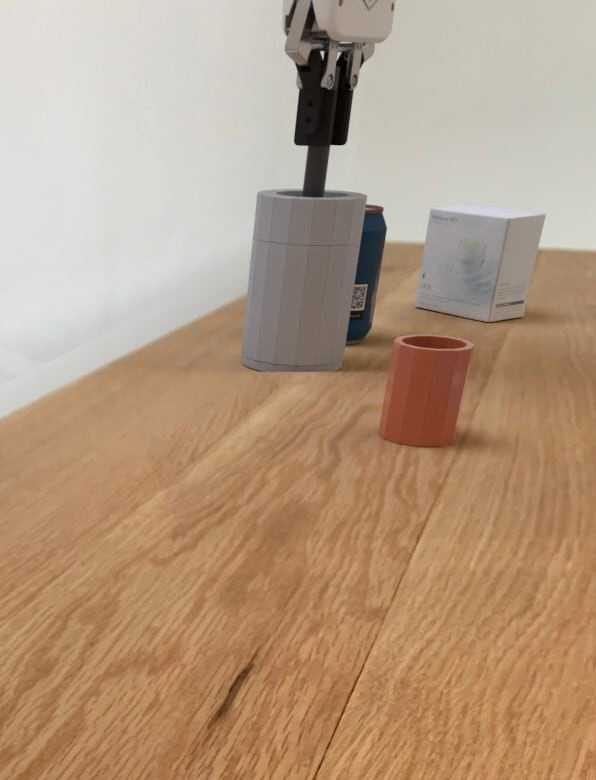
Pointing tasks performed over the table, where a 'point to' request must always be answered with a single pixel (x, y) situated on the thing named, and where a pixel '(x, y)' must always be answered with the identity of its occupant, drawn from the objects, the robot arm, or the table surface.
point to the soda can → (367, 274)
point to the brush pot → (425, 390)
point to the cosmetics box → (478, 261)
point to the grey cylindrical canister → (301, 280)
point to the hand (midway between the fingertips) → (320, 143)
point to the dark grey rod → (317, 162)
